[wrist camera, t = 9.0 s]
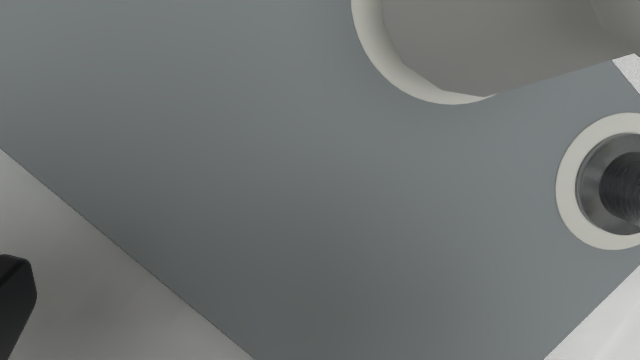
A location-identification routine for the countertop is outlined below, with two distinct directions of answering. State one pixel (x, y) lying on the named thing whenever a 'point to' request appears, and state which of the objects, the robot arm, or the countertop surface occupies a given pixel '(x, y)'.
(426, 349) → the mat
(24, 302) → the robot arm
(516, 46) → the salt shaker
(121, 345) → the countertop surface
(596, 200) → the steel pin
